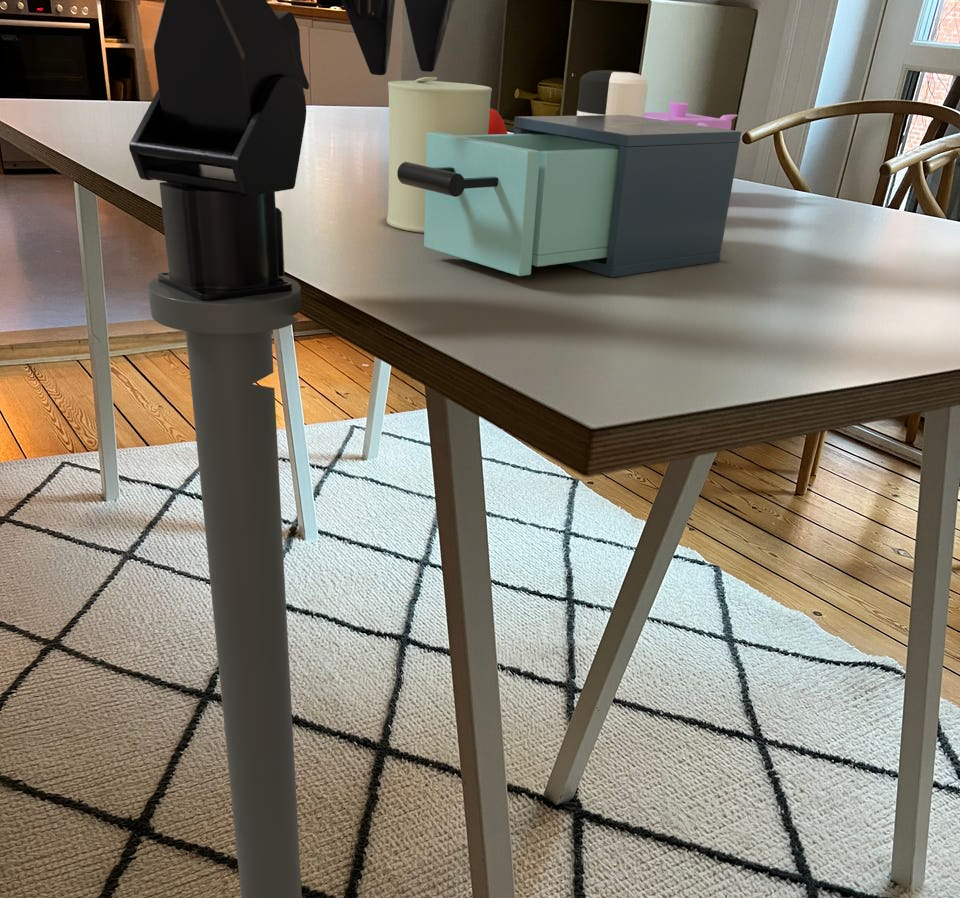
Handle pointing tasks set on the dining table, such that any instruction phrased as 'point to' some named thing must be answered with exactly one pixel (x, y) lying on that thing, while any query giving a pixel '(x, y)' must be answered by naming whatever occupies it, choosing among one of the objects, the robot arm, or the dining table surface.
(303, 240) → the dining table surface
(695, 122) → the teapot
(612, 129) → the small storage cabinet
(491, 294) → the dining table surface
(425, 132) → the can
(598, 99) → the container
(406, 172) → the drawer
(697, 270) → the dining table surface
